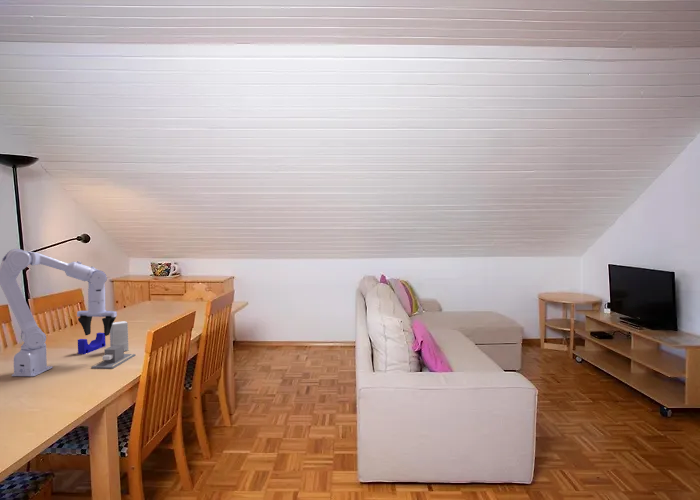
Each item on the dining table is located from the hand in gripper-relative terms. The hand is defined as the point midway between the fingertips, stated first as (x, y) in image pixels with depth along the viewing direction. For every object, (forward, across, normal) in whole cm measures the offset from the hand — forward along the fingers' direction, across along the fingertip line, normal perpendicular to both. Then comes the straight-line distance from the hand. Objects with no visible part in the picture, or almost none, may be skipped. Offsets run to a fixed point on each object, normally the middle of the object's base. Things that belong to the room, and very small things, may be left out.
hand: (97, 335), depth 165 cm
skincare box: (+10, -2, -12) cm, 16 cm away
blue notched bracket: (+10, +11, -13) cm, 20 cm away
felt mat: (+10, -8, +2) cm, 13 cm away
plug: (+9, -8, +3) cm, 12 cm away
